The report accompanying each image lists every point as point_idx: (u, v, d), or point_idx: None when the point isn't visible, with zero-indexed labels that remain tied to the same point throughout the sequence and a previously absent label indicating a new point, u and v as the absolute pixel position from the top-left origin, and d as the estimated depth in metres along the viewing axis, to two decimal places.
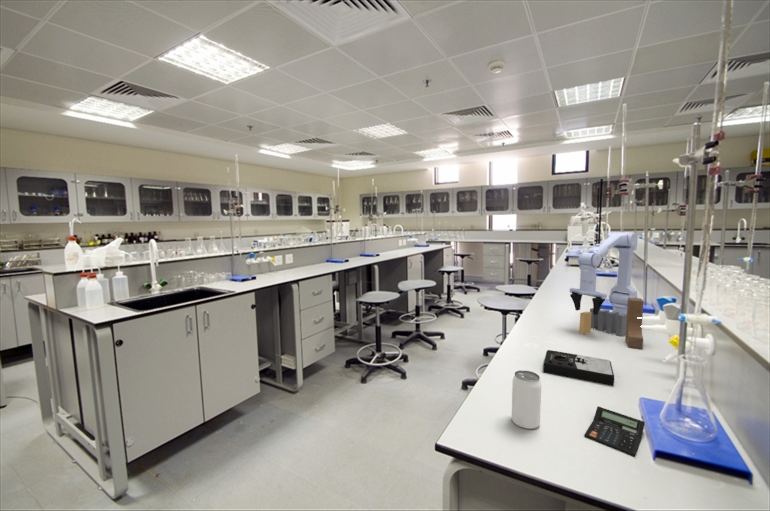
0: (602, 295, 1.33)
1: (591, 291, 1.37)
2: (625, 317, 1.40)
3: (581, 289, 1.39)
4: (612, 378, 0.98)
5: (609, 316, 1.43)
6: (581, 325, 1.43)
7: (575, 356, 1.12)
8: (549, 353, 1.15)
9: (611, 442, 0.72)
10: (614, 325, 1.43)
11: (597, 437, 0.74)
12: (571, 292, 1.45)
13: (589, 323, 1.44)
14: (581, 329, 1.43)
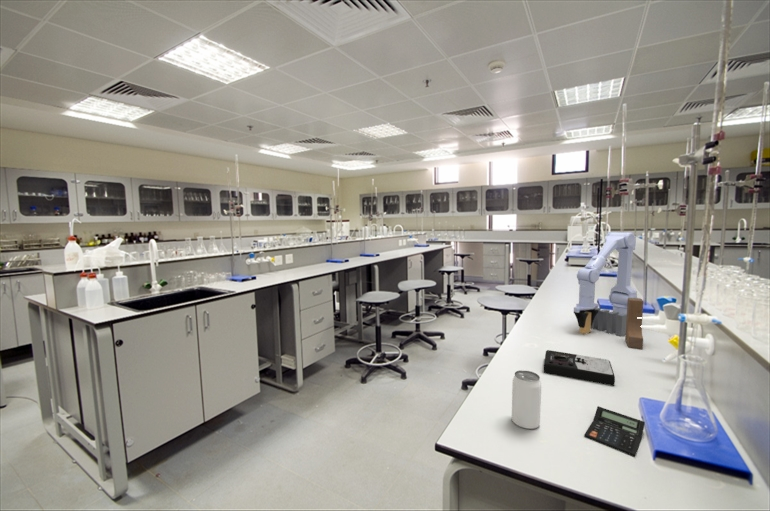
0: None
1: (579, 304, 1.43)
2: (625, 317, 1.40)
3: None
4: (613, 378, 0.98)
5: (609, 316, 1.43)
6: None
7: (575, 356, 1.12)
8: (548, 353, 1.14)
9: (611, 442, 0.72)
10: (614, 325, 1.43)
11: (597, 437, 0.74)
12: None
13: (589, 323, 1.44)
14: (581, 329, 1.43)
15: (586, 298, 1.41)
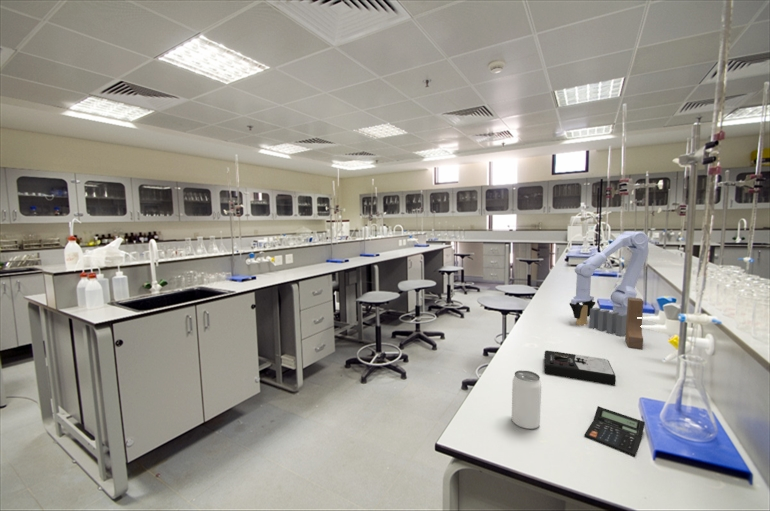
0: None
1: (576, 297, 1.55)
2: (625, 317, 1.40)
3: None
4: (614, 378, 0.98)
5: (609, 316, 1.43)
6: None
7: (574, 356, 1.12)
8: (548, 354, 1.14)
9: (611, 442, 0.72)
10: (614, 325, 1.43)
11: (597, 437, 0.74)
12: None
13: (585, 315, 1.56)
14: (578, 321, 1.55)
15: (582, 291, 1.52)
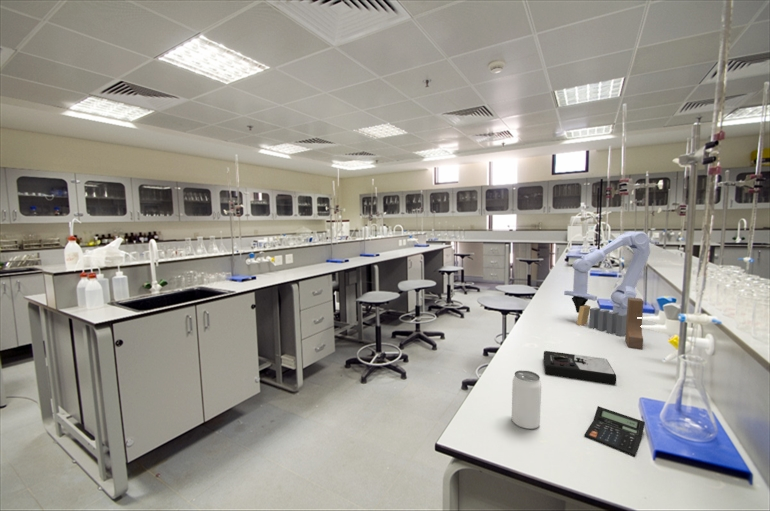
0: (593, 297, 1.50)
1: (583, 293, 1.53)
2: (625, 317, 1.40)
3: (574, 292, 1.56)
4: (614, 377, 0.98)
5: (609, 316, 1.43)
6: (579, 317, 1.55)
7: (573, 356, 1.12)
8: (547, 354, 1.14)
9: (611, 442, 0.72)
10: (614, 325, 1.43)
11: (597, 437, 0.74)
12: (565, 294, 1.62)
13: (587, 316, 1.55)
14: (579, 321, 1.55)
15: None
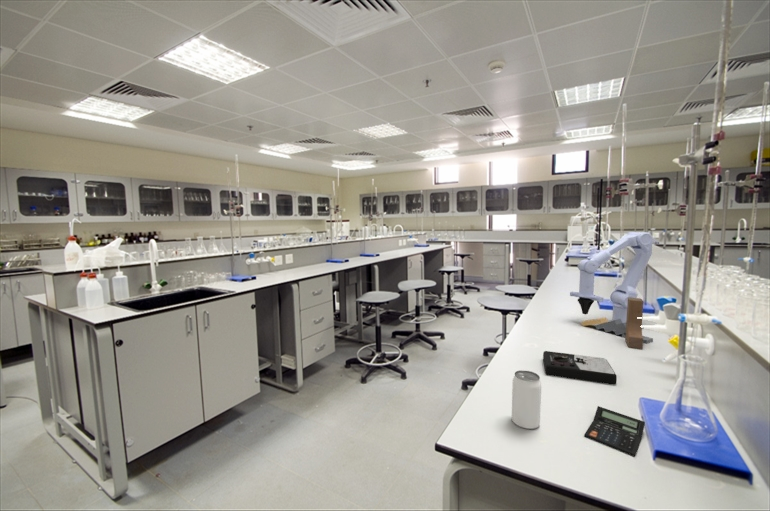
0: (599, 298, 1.47)
1: (589, 295, 1.51)
2: None
3: (580, 293, 1.53)
4: (615, 377, 0.98)
5: None
6: (588, 322, 1.51)
7: (573, 356, 1.12)
8: (547, 354, 1.14)
9: (611, 442, 0.72)
10: None
11: (597, 437, 0.74)
12: (571, 295, 1.59)
13: None
14: (585, 323, 1.52)
15: (593, 287, 1.52)
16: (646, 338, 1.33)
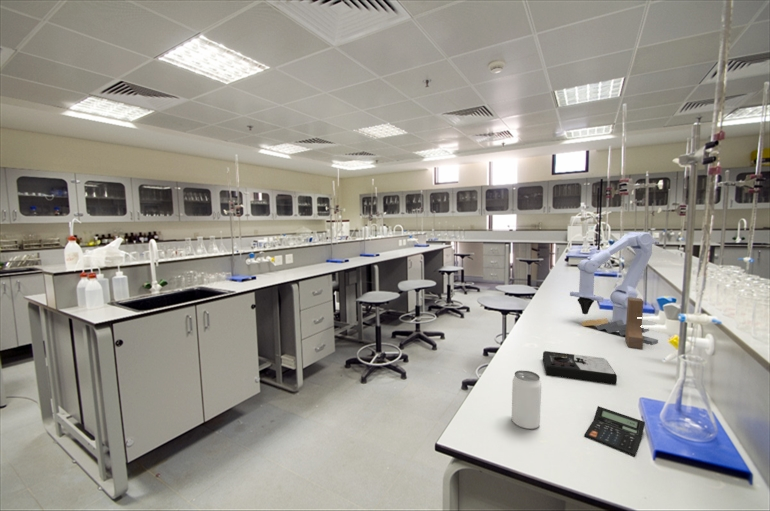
0: (599, 298, 1.47)
1: (589, 295, 1.51)
2: None
3: (580, 293, 1.53)
4: (615, 377, 0.98)
5: None
6: (589, 322, 1.51)
7: (572, 356, 1.12)
8: (547, 354, 1.13)
9: (611, 442, 0.72)
10: None
11: (597, 437, 0.74)
12: (571, 295, 1.59)
13: None
14: (585, 323, 1.52)
15: (593, 287, 1.52)
16: (651, 339, 1.32)
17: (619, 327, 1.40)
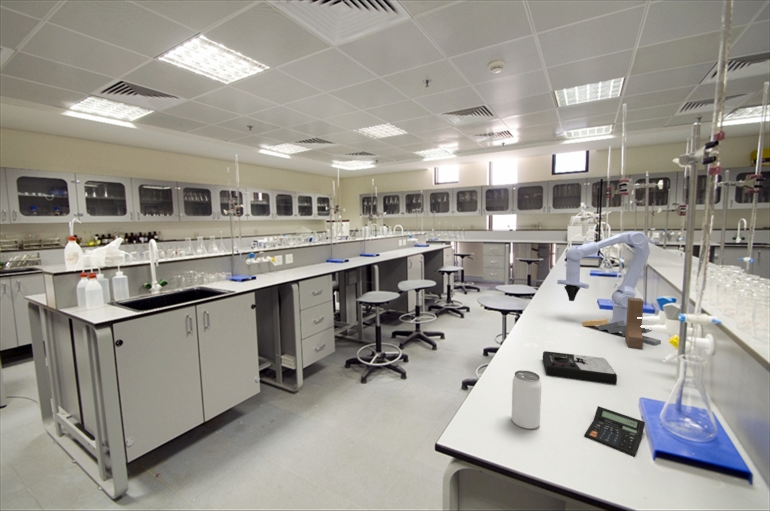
0: (585, 285, 1.52)
1: (575, 282, 1.56)
2: None
3: (567, 280, 1.58)
4: (615, 377, 0.98)
5: None
6: (589, 323, 1.51)
7: (572, 356, 1.12)
8: (547, 354, 1.13)
9: (611, 442, 0.72)
10: None
11: (597, 437, 0.74)
12: (558, 283, 1.64)
13: None
14: (585, 323, 1.52)
15: (579, 274, 1.57)
16: (654, 340, 1.31)
17: (621, 328, 1.39)
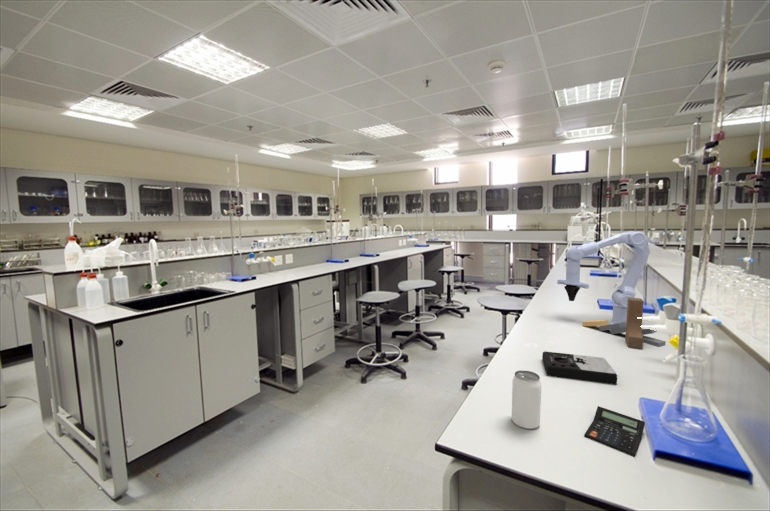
0: (585, 285, 1.52)
1: (575, 282, 1.56)
2: None
3: (567, 280, 1.58)
4: (615, 377, 0.99)
5: (647, 331, 1.32)
6: (589, 323, 1.50)
7: (572, 356, 1.12)
8: (547, 355, 1.13)
9: (611, 442, 0.72)
10: None
11: (597, 437, 0.74)
12: (558, 283, 1.64)
13: None
14: (586, 323, 1.52)
15: (579, 274, 1.57)
16: (658, 341, 1.30)
17: (623, 329, 1.38)
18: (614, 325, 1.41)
